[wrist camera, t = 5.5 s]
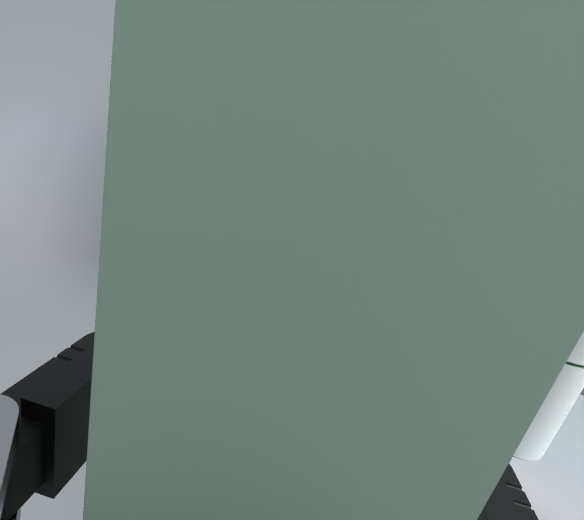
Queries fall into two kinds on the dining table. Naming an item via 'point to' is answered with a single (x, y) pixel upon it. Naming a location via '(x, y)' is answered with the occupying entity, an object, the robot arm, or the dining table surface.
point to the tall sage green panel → (332, 254)
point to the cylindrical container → (554, 406)
